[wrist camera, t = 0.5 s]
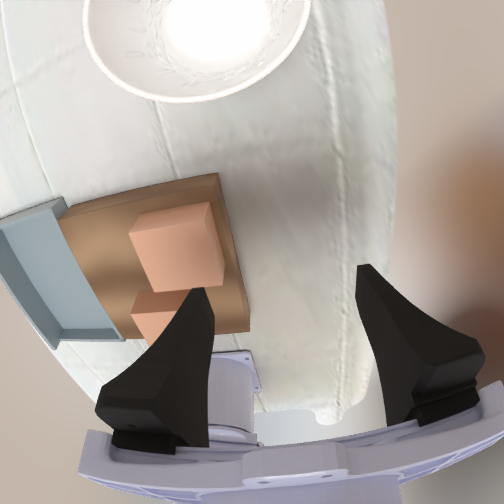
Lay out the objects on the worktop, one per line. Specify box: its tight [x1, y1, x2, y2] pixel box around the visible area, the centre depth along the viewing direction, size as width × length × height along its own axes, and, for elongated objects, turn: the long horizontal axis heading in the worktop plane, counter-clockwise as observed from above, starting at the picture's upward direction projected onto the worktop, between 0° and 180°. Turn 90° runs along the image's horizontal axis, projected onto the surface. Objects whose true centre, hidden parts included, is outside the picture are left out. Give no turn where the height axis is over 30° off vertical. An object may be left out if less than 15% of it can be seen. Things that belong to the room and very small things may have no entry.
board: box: [57, 173, 250, 339], centre depth 24 cm, size 14×13×2 cm
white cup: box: [83, 0, 311, 103], centre depth 11 cm, size 8×8×10 cm
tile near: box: [128, 202, 225, 292], centre depth 20 cm, size 5×5×2 cm
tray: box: [0, 197, 126, 350], centre depth 25 cm, size 16×10×4 cm, turn 9°
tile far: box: [130, 289, 191, 346], centre depth 24 cm, size 5×5×2 cm
